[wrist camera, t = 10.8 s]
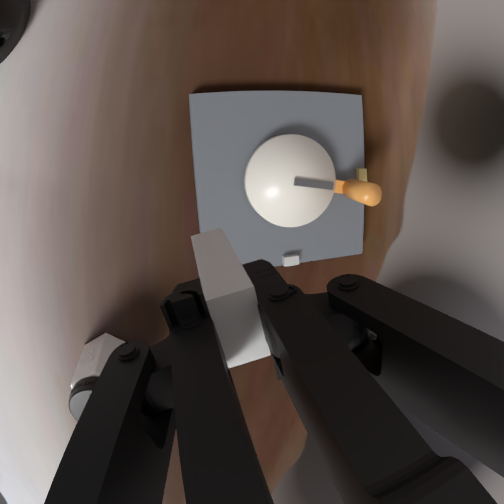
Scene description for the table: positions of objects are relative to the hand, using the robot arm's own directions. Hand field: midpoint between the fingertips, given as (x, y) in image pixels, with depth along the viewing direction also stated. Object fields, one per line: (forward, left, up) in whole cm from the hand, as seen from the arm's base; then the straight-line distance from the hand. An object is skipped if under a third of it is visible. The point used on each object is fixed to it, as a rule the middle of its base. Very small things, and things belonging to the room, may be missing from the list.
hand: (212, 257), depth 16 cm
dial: (0, +13, -23) cm, 26 cm away
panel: (-1, +12, -25) cm, 27 cm away
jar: (+22, -15, -25) cm, 37 cm away
